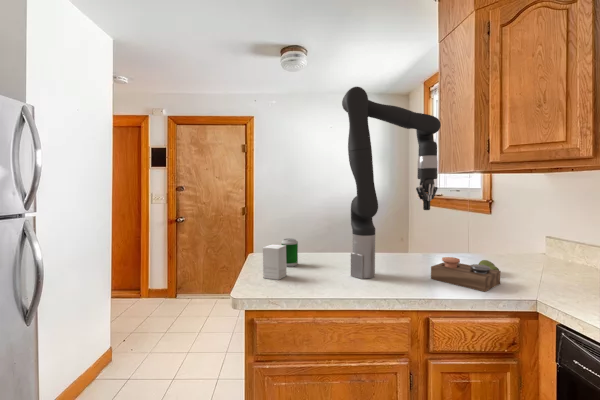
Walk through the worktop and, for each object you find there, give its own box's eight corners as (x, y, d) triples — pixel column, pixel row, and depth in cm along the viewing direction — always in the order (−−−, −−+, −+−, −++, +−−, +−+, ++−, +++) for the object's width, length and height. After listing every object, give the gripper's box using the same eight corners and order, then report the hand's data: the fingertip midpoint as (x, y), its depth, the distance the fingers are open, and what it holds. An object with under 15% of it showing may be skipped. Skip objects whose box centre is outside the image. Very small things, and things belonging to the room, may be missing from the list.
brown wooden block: (484, 291, 113) (485, 277, 113) (430, 278, 129) (431, 266, 129) (500, 283, 122) (500, 270, 122) (447, 272, 138) (448, 261, 138)
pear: (488, 258, 141) (505, 267, 131) (486, 269, 142) (503, 279, 132) (476, 258, 140) (492, 268, 130) (474, 269, 141) (490, 280, 131)
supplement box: (287, 275, 134) (287, 245, 133) (278, 280, 127) (278, 248, 127) (271, 273, 137) (271, 243, 137) (262, 278, 131) (262, 247, 130)
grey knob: (485, 284, 117) (485, 269, 117) (467, 280, 122) (467, 266, 121) (492, 281, 121) (492, 266, 121) (474, 277, 126) (474, 263, 126)
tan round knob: (454, 275, 125) (455, 261, 125) (438, 272, 130) (439, 258, 130) (462, 272, 129) (462, 259, 129) (446, 269, 134) (446, 256, 134)
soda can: (297, 267, 147) (297, 241, 147) (281, 267, 147) (280, 241, 147) (297, 263, 155) (297, 238, 154) (282, 263, 155) (282, 238, 154)
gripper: (427, 168, 139) (426, 208, 140) (410, 167, 130) (409, 210, 131) (444, 167, 133) (443, 209, 134) (427, 166, 125) (426, 211, 125)
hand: (426, 210), depth 132 cm, fingers closed
